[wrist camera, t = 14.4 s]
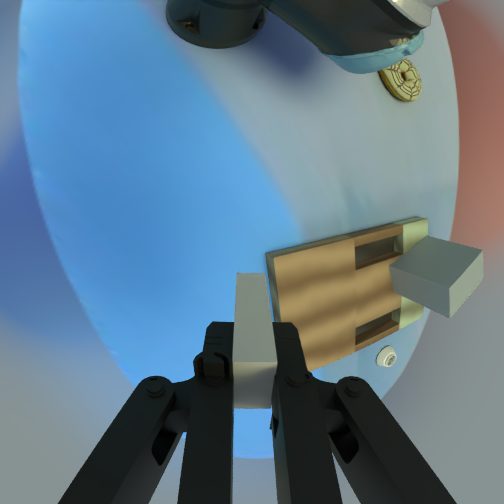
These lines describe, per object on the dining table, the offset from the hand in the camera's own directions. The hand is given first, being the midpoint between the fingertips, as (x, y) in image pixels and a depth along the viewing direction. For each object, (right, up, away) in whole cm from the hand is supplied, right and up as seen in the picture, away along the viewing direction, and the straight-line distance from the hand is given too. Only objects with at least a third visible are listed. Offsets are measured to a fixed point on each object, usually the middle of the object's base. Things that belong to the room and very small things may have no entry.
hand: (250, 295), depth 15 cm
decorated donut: (+29, +37, +29) cm, 55 cm away
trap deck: (+20, -5, +34) cm, 40 cm away
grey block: (+31, 0, +34) cm, 46 cm away
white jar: (+30, -21, +42) cm, 56 cm away
